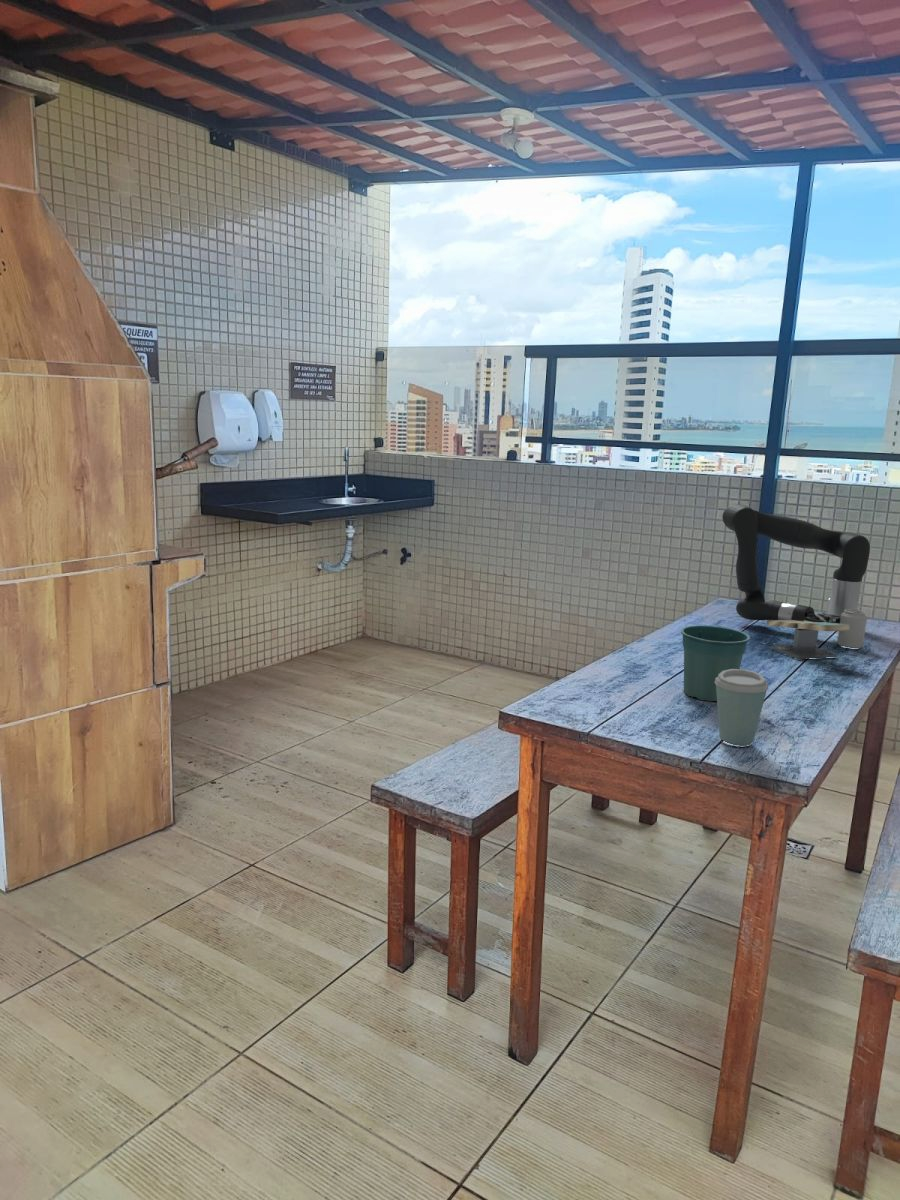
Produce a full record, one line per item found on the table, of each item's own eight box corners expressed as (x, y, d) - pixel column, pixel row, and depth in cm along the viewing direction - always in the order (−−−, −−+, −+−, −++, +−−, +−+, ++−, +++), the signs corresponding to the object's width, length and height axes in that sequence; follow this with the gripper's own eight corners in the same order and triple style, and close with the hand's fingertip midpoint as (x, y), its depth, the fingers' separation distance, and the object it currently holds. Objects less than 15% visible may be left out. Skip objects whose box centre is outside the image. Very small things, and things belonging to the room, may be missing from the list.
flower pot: (729, 710, 200) (737, 645, 196) (664, 695, 209) (670, 632, 206) (751, 695, 213) (759, 633, 209) (689, 681, 222) (695, 622, 219)
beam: (764, 625, 266) (764, 619, 266) (789, 624, 269) (789, 619, 269) (824, 631, 241) (824, 625, 241) (851, 630, 244) (851, 624, 244)
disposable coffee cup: (760, 755, 172) (769, 685, 169) (705, 746, 176) (713, 677, 173) (761, 738, 182) (770, 672, 179) (710, 730, 185) (717, 665, 182)
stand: (771, 649, 260) (774, 625, 258) (808, 648, 264) (811, 623, 262) (797, 660, 249) (801, 634, 247) (836, 658, 253) (840, 633, 251)
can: (866, 651, 264) (872, 613, 262) (842, 649, 264) (848, 612, 262) (855, 644, 271) (861, 608, 269) (832, 643, 271) (837, 607, 269)
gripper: (786, 606, 275) (836, 616, 263) (807, 602, 284) (856, 611, 272) (783, 628, 276) (832, 639, 264) (804, 623, 285) (852, 634, 273)
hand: (844, 625), depth 268 cm, fingers open, 8 cm apart
